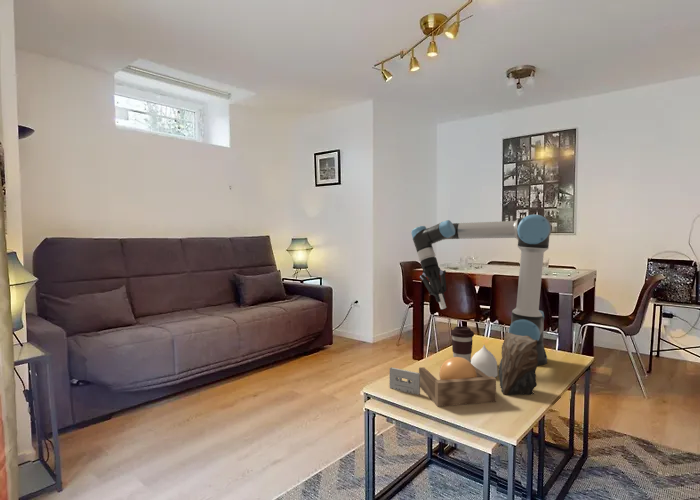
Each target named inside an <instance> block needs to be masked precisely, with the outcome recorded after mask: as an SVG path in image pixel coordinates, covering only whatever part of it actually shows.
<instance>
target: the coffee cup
mask: <svg viewBox="0 0 700 500" xmlns="http://www.w3.org/2000/svg"><path fill="white" fill-rule="evenodd" d="M450 335H451V345H452V346H451V347H452V354H453V355H452V356H453V357H461V358H464V359H466V360H468V361H469V362H470V363H471V359H472V351H473V337H474V336H475V332H474V331H473V330H471V328H470V327H468V326H460V325H458V326H455V327H454V328H453V329H452V330H450Z"/></svg>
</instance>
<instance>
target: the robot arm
mask: <svg viewBox="0 0 700 500" xmlns="http://www.w3.org/2000/svg"><path fill="white" fill-rule="evenodd" d="M552 230H553V229H552V223H551V221H550V220H549V219H548V218H547V217H545V216H543V215H540V214H534V213H533V214H528V215H525V216H524V217H522V218H517V219H516V220H507V221H503V220H502V221H482V222H481V221H480V222H479V221H478V222H460V223H458V222H456V223H454V222H452V221H451V220H449V219H448V220H444V221H441V222H439V223H437V224H435V225H433V226H429V227H426V226H425V225H419V226H417V227H415V228H413V229H412V230H411V231H410V232H411V236H412V240H413V245H414V247H415V250H416V254H417V257H418V259H419V262H420V266H421V269H422V274H421V275H420V276H419V280H421V281H422V282H423V284H424V286H425V288H426V289H427V291H428V293H429V295H430V296H434V298H435V301H436V303H438V304H439V308H440V310H444V309H446V308H447V305H446V302H445V301H446V297H445V292H447V281H446V273H447V271H446V270H443V269H441V268H440V267H439V262H438V260H437V257H436V254H435V250H434V248H433V244H435V243H438V242H441V241H444V240H460V239H461V240H466V239H468V240H469V239H471V240H472V239H476V240H477V239H516V240H517V248H518V249H519V250H520V262H519V271H518V272H519V273H518V286H517V295H516V297H517V298H516V305H515V306H516V307H515V308H514V309H512V311H511V321H510V322H511V323H510V325H509V328H508V333H512V334H515V335H521V336H530V337H531V338H532V339H534V340H537V341H538V343H537V352H538V359H537V360H538V365H537V366H542V365H543V366H544V365H546V364H548V356H547V353H546V350H545V347H544V328H545V327H544V326H545V325H544V324H545V323H544V320H545V314H544V311H543V310H540V300H541V299H540V297H541V290H542V289H541V287H542V278H543V266H544V254H545V252H546V251H547V250H549V244H550V235H551V234H552Z"/></svg>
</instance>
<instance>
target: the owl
mask: <svg viewBox="0 0 700 500" xmlns="http://www.w3.org/2000/svg"><path fill="white" fill-rule="evenodd" d="M504 336H505V337H504V340H503V343H502V345H501V358H500V362H499V366H498V368H497V372H498V378H499V387H500V389H501V393H502V394H503V396H522V395H523V396H524V395H528V396H529V395H531V394H532V395H535V392H534V389H535V388H536V387H537V374H536V370H537V367H538V366H539V365H538V360H537V359H538V352H537V343H538V341H537V340H534V339H532V338H531V337H530V336H521V335H515V334H512V333H509V331H508V332H507V331H506V332H504ZM533 392H534V393H533Z"/></svg>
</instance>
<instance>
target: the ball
mask: <svg viewBox="0 0 700 500" xmlns="http://www.w3.org/2000/svg"><path fill="white" fill-rule="evenodd" d="M463 378H477V374H476V370H475V368H474V366H473V365H472V364H471V361H470V362H469V361H468V360H466V359H464V358H461V357H450V358H448V359H446V360H445V361H444V362H443V363H442V365H441V367H440V369H439V380H448V379H463Z"/></svg>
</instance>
